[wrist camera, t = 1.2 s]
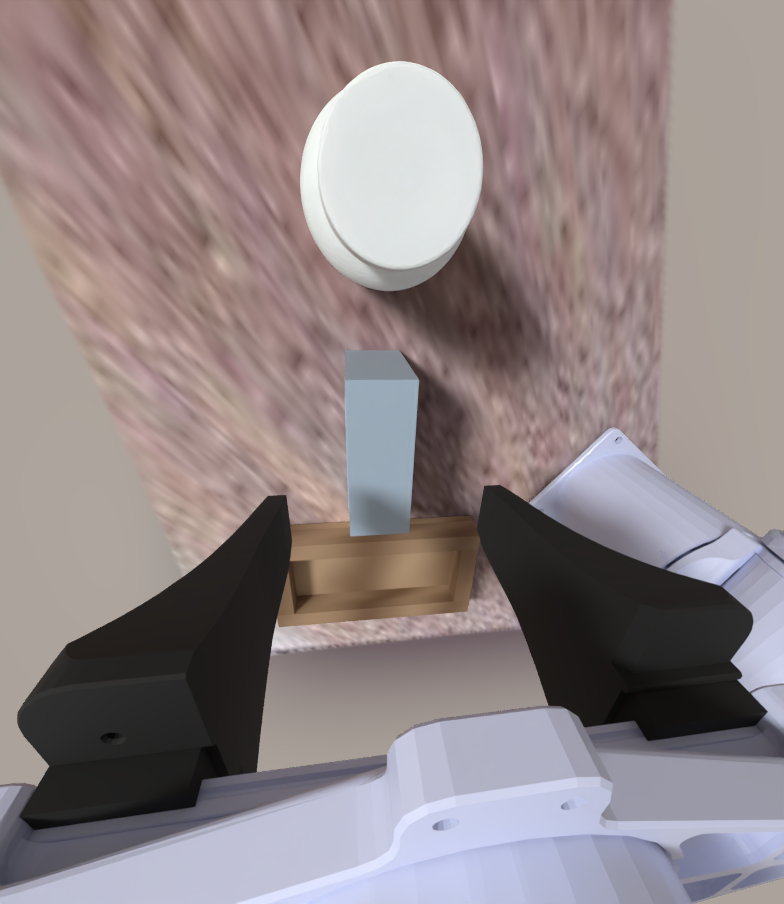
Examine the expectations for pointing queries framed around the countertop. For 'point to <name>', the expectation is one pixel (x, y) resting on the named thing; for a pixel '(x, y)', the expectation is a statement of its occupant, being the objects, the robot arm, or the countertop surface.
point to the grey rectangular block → (379, 440)
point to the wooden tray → (379, 571)
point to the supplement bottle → (392, 176)
